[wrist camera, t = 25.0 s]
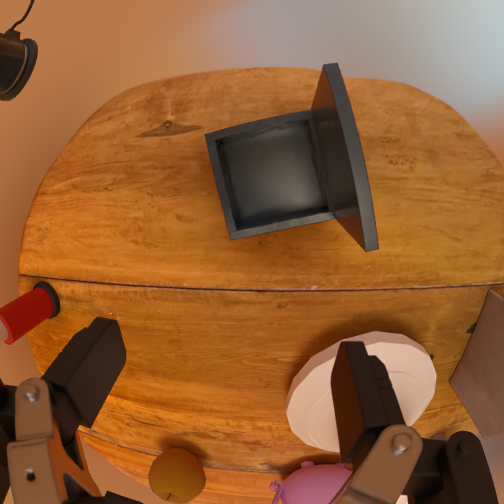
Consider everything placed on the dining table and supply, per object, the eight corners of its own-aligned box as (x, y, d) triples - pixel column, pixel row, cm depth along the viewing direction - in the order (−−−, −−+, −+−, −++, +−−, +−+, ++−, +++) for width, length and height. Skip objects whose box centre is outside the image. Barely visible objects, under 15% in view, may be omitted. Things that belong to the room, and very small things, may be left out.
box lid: (365, 252, 14) (379, 249, 14) (323, 64, 12) (337, 62, 12) (335, 220, 25) (344, 218, 25) (310, 108, 23) (319, 107, 22)
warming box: (237, 231, 31) (230, 240, 27) (216, 140, 29) (204, 134, 24) (330, 211, 30) (339, 218, 25) (309, 119, 27) (314, 109, 23)
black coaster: (31, 283, 37) (27, 286, 36) (51, 278, 36) (47, 281, 35) (44, 317, 38) (40, 319, 37) (65, 314, 37) (61, 317, 36)
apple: (220, 454, 42) (207, 506, 30) (197, 471, 44) (184, 515, 33) (171, 430, 41) (150, 481, 30) (154, 449, 44) (134, 493, 32)
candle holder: (286, 323, 33) (285, 459, 15) (436, 312, 31) (517, 406, 13) (285, 430, 38) (279, 537, 20) (404, 418, 36) (437, 510, 18)
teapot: (383, 454, 39) (396, 505, 27) (352, 488, 43) (358, 533, 31) (281, 449, 40) (277, 509, 28) (262, 483, 44) (256, 532, 32)
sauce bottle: (35, 280, 35) (-23, 313, 23) (55, 299, 36) (-2, 338, 23) (32, 303, 37) (-21, 337, 24) (51, 321, 37) (-1, 361, 24)
